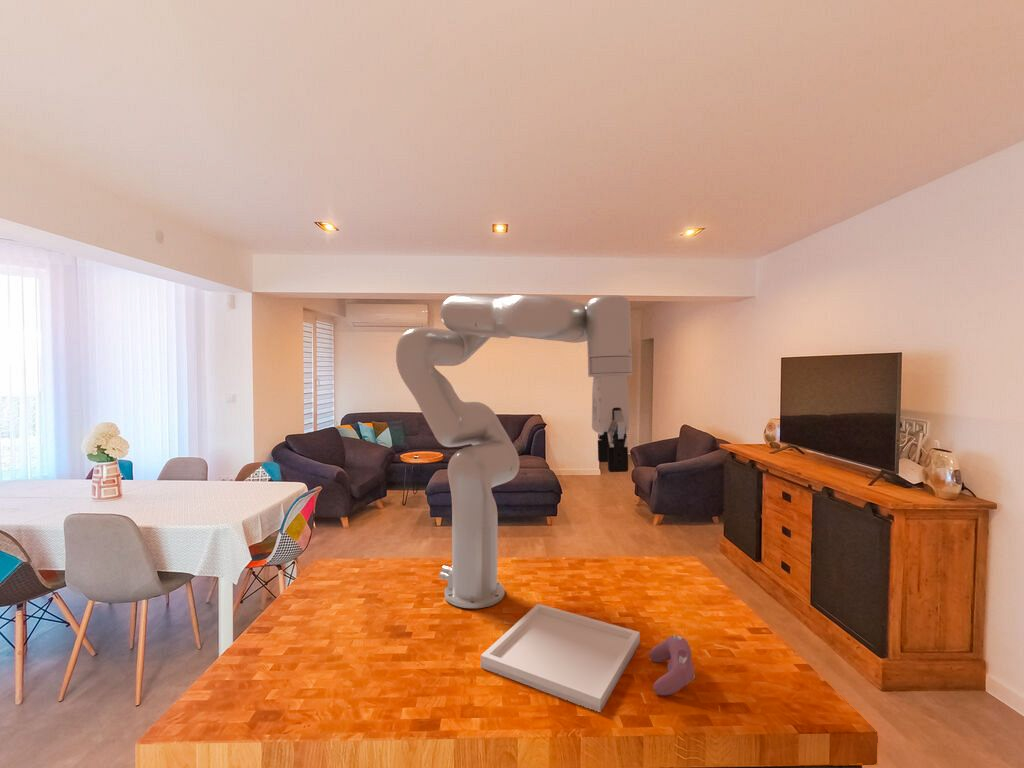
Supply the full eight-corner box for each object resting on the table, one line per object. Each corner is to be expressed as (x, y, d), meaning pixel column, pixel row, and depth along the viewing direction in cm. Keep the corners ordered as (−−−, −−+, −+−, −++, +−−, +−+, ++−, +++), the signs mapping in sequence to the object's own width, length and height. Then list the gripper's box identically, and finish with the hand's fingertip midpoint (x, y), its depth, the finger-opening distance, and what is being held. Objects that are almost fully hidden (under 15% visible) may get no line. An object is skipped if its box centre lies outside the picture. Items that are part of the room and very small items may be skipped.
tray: (480, 667, 77) (480, 655, 77) (537, 613, 95) (537, 603, 95) (600, 713, 67) (600, 698, 67) (639, 643, 85) (639, 632, 85)
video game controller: (680, 711, 70) (704, 671, 69) (651, 693, 71) (674, 654, 70) (671, 669, 80) (692, 634, 79) (646, 654, 81) (666, 619, 80)
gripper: (581, 369, 93) (583, 459, 93) (596, 367, 75) (599, 476, 76) (620, 368, 93) (623, 458, 93) (644, 366, 75) (647, 475, 75)
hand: (612, 466), depth 84 cm, fingers open, 9 cm apart
